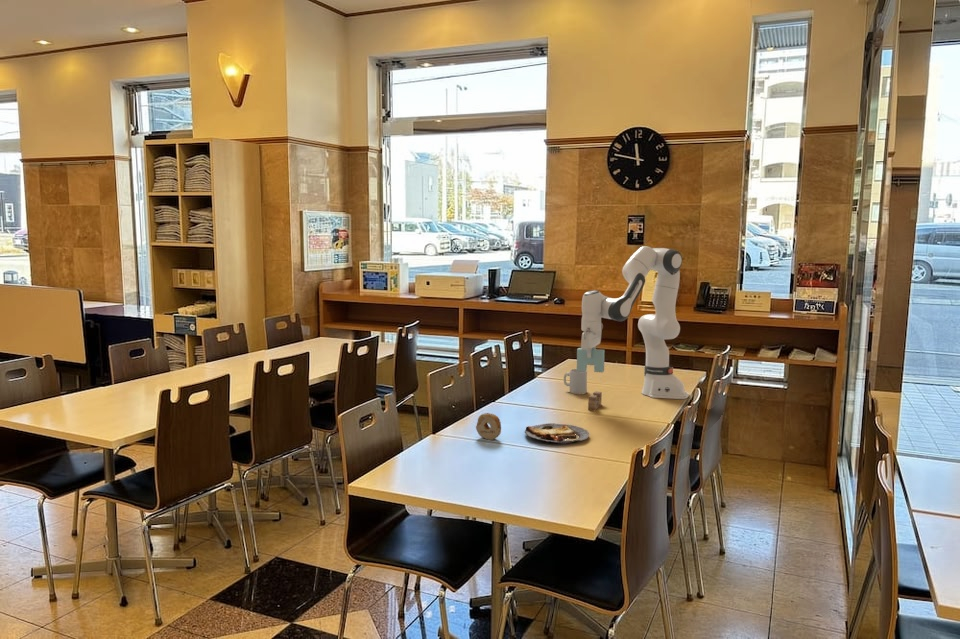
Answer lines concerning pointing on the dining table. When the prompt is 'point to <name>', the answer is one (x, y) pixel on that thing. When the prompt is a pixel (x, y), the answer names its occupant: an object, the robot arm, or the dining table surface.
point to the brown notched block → (594, 400)
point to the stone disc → (484, 429)
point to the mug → (577, 381)
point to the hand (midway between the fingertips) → (590, 356)
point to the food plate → (556, 432)
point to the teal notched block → (590, 360)
